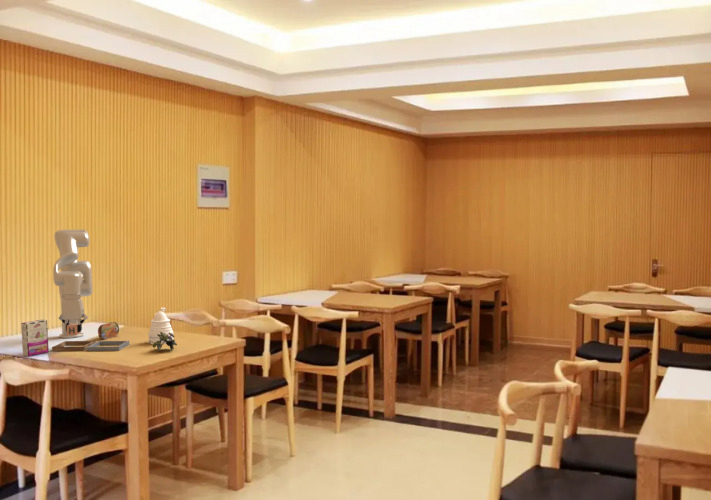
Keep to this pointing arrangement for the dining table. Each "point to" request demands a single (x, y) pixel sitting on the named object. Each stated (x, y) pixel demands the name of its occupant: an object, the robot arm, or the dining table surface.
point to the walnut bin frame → (81, 348)
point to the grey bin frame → (112, 348)
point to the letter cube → (72, 329)
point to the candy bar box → (34, 337)
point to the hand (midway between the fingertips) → (73, 331)
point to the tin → (108, 330)
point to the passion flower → (165, 340)
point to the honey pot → (159, 326)
